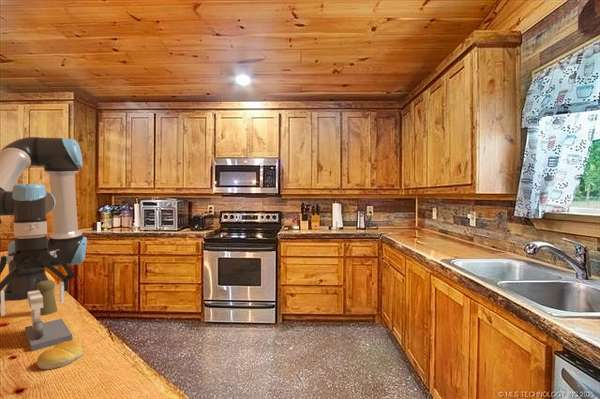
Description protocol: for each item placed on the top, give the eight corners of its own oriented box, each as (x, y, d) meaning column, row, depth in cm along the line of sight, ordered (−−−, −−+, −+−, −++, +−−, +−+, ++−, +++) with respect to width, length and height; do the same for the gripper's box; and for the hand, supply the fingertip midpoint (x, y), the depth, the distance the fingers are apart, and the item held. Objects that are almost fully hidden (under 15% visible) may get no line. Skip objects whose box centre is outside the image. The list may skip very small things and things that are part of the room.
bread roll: (28, 369, 78) (28, 352, 78) (64, 351, 86) (63, 336, 86) (56, 373, 76) (55, 356, 76) (89, 354, 84) (89, 338, 84)
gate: (45, 336, 90) (43, 298, 90) (33, 339, 89) (31, 300, 88) (40, 324, 99) (38, 289, 99) (28, 326, 97) (27, 291, 97)
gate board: (25, 332, 98) (24, 327, 98) (61, 323, 104) (61, 318, 104) (31, 351, 86) (31, 345, 86) (72, 339, 92) (72, 334, 92)
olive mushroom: (45, 315, 111) (44, 283, 111) (30, 314, 112) (29, 283, 112) (61, 309, 117) (60, 279, 117) (47, 308, 118) (46, 278, 118)
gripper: (-30, 243, 84) (-26, 324, 85) (84, 233, 102) (86, 300, 103) (-29, 240, 90) (-26, 316, 90) (78, 231, 107) (81, 295, 108)
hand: (34, 308), depth 96 cm, fingers open, 13 cm apart
